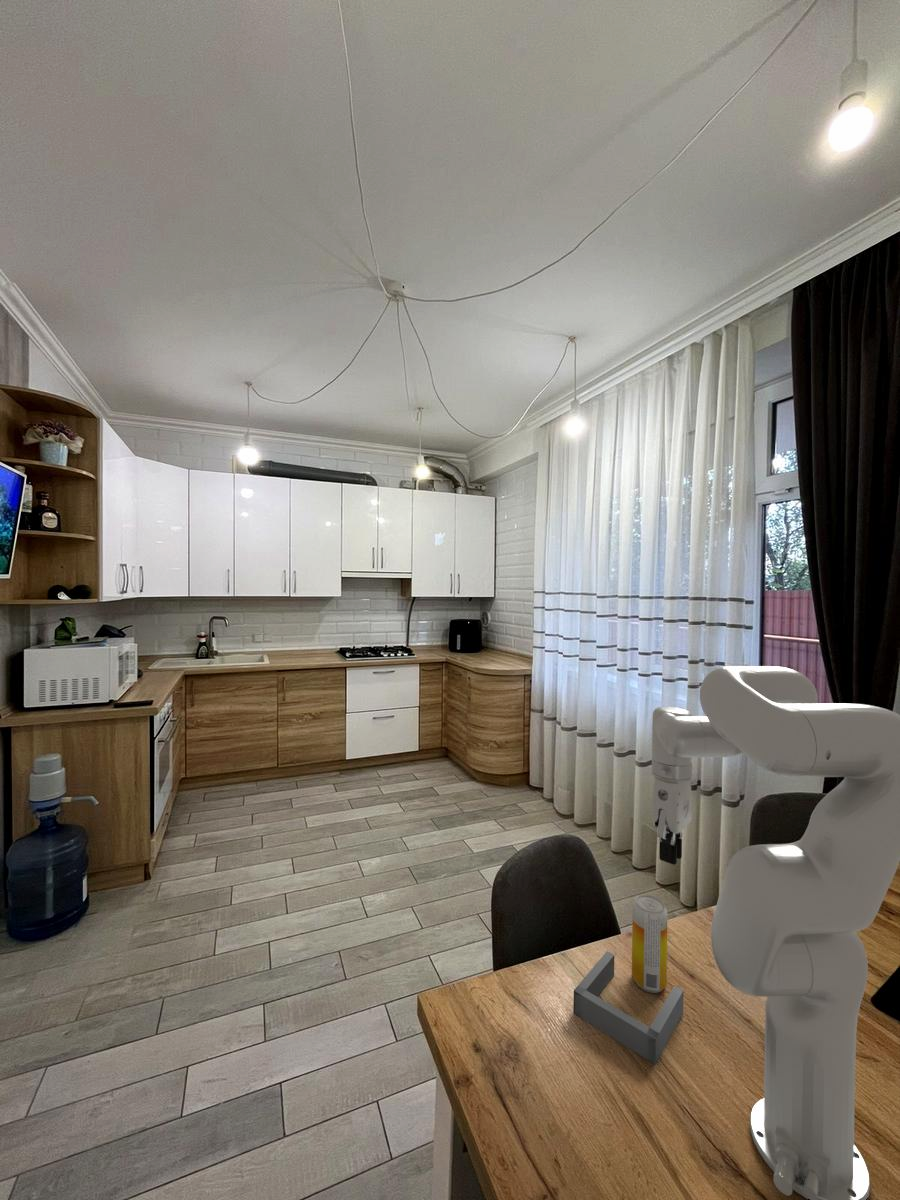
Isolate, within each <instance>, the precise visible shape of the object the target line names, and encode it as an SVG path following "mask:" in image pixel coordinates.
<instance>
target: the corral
mask: <svg viewBox="0 0 900 1200" xmlns="http://www.w3.org/2000/svg"><path fill="white" fill-rule="evenodd" d="M614 976H615V954H614V953H612V952H610V951H608V950H607V951H606V952H604V954H603V955H602V956H601V958H599V960H598V961H597V962H596V963H595V965H593V967H592V968H591V969H590V970H589V971H588V973H587V974H586V975H585V976H584V977H583V979H582V980H581V981H580V982H579V983H578V984H577V986H576V987H575V988H574V990H573V1010H572V1011H573V1014H574V1015H576V1016H577V1017H579V1018H581V1019H582V1020H583V1021H585V1022H587V1023H588V1024H590V1025H591V1026H593V1027H594V1028H596V1029H598V1030H599V1031H601V1032H602V1033H604V1034H605V1035H606V1036H608V1037H610V1038H611V1039H613V1040H615V1041H616V1042H618V1043H620V1044H621V1045H622V1046H625V1047H626V1048H628V1049H629V1050H631V1051H632V1052H634V1053H635V1054H637V1055H639V1056H640V1057H642V1058H643V1059H645V1060H646V1061H649V1062H650V1063H652V1064H653V1065H655V1066H656V1065H657V1063H658V1061H659V1060H660V1057H661V1056H662V1054H663V1051H664V1050H665V1049H666V1046H667V1045H668V1042H669V1041H670V1039H671V1037H672V1035H673V1033H674V1031H675V1029H676V1027H677V1026H678V1024H679V1022H680V1020H681V1018H682V1016H683V1014H684V989H683V988H680V987H677V986H676V985H674V986H673V988H672V989H671V991H670V992H669V994H668V996H667V997H666V999H665V1001H664V1003H663V1005H662V1006H661V1007H660V1009H659V1011H658V1013H657V1014H656V1016H655V1018H654V1020H653V1021H652V1023H651V1024H650V1026H648V1025H646V1024H644V1023H643V1022H641V1021H639V1020H638V1019H636V1018H634V1017H633V1016H631V1015H629V1014H628V1013H626V1012H624V1011H622V1010H620V1009H619V1008H617V1007H615V1006H614V1005H612V1004H611V1003H608V1002H607V1001H605V1000H604V999H601V998H600V997H599V996H600V995H601V993H602V992H603V990H605V988H606V987H607V986H608V984H609V983H610V981H612V979H613V978H614Z"/></svg>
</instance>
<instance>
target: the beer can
mask: <svg viewBox="0 0 900 1200" xmlns="http://www.w3.org/2000/svg"><path fill="white" fill-rule="evenodd" d="M668 915H669V913H668V910H667V908H666V905H665V903H664V901H663V900H661V899H660V898H658V897H656V896H654V895H651V894H640V895H637V896H636V897H635V898H634V901H633V902H632V919H631V920H632V921H631V923H632V925H631V926H632V927H631V928H632V930H631V935H632V938H631V977H632V979H633V980H634V982H635V983H636V985H637V986H638V988H640V989H641V990H643V991H645V992H648V993H652V994H657V993H660V992H662V991H663V990H664V989H665V988H666V986H667V983H668V982H667V980H668V976H667V975H668Z"/></svg>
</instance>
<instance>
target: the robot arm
mask: <svg viewBox="0 0 900 1200" xmlns="http://www.w3.org/2000/svg"><path fill="white" fill-rule="evenodd" d="M818 698H819V696H818V692H817V689H816V687H815V685H814V683H813V682H812V681H811V680H810V679H809V677H807V676H805V675H804V674H803V673H801V672H800V671H797V670H794V669H792V668H788V667H784V666H778V665H777V666H775V665H774V666H771V665H762V666H761V665H758V666H757V665H756V666H754V665H752V666H751V665H749V666H748V665H747V666H746V665H745V666H744V665H743V666H742V665H739V666H738V665H737V666H736V665H735V666H733V665H728V666H720V667H717V668H714V669H713V670H711V671H710V672H709V673H707V674H706V676H705V677H704V679H703V680H702V682H701V685H700V688H699V704H700V707H701V710H702V711H703V713H704V715H692V713H691V711H689V710H687V709H685V708H682V707H676V706H658V707H656V708H655V709H654V710H653V712H652V716H651V718H652V719H651V720H652V724H651V731H652V733H651V736H652V737H651V775H652V776H653V777H654V782H653V783H654V785H653V797H652V823H653V826H654V827H655V828H656V829H657V832H656V837H657V838H658V841H659V851H658V853H659V860H660V861H663V862H665V863H668V864H670V865H673V866H676V865H677V863H678V862H677V861H678V860H681V859H682V857H683V853H682V851H683V850H682V849H683V847H682V846H683V839H682V837H683V830H684V829H685V828H686V827H687V826H688V825H689V824H690V823H691V821H692V819H693V805H692V804H693V803H692V801H693V800H692V798H693V797H692V784H691V783H692V782H691V781H693V758H732V757H737V756H741V755H743V754H744V755H745V756H746V757H747V758H748V759H749V760H750V761H752V762H753V763H754V764H755V765H757V766H758V767H759V768H760V769H762V770H765V772H768V773H770V774H772V775H776V776H780V777H786V778H839V777H840V778H843V780H841V782H840V783H839V784H838V785H836V786H835V787H834V788H833V789H831V791H829V792H828V793H827V794H825V796H823V798H822V799H821V800H820V801H819V802H818V803H817V805H816V806H815V808H814V810H813V811H812V813H811V815H810V817H809V818H810V819H809V822H808V825H807V828H806V829H805V832H804V834H803V835H802V837H800V839H799V840H797V841H794V842H790V843H788V842H787V843H767V844H765V843H764V844H755V845H749V846H745V847H743V848H741V849H739V850H738V851H737V852H736V853H735V854H734V855H733V856H732V857H731V859H730V861H729V863H728V865H727V867H726V870H725V871H726V872H725V874H724V877H723V882H722V885H721V888H720V892H719V895H718V899H717V903H716V905H715V909H714V913H713V917H712V921H711V930H710V934H711V935H710V940H711V942H710V943H711V950H712V953H713V954H712V955H713V958H714V960H715V961H714V962H715V963H716V966H717V968H718V970H719V972H720V973H721V975H722V976H723V978H724V980H726V982H727V983H728V984H729V985H731V987H733V988H734V989H736V990H737V991H738V992H741V993H742V994H746V995H747V996H748V995H749V996H751V997H752V996H753V997H766V1000H765V1012H764V1013H765V1016H764V1017H765V1018H764V1066H763V1067H764V1069H763V1070H764V1071H763V1072H764V1073H763V1082H764V1083H763V1098H761V1099H759V1100H757V1101H756V1102H755V1104H754V1105H753V1107H752V1109H751V1111H750V1114H749V1115H750V1117H749V1122H750V1124H749V1125H750V1134H751V1138H752V1140H753V1143H754V1145H755V1147H756V1149H757V1151H758V1153H759V1154H760V1156H761V1158H762V1159H763V1160H764V1162H765V1163H766V1165H767V1166H768V1167H769V1168H770V1170H771V1171H772V1172H773V1178H772V1179H773V1180H772V1181H773V1183H774V1185H775V1187H776V1188H777V1190H778V1191H779V1192H780V1193H782V1194H783V1195H785V1196H788V1197H789V1196H792V1194H793V1191H795V1193H797V1194H799V1195H800V1196H802V1197H804V1198H805V1199H807V1200H808V1199H810V1200H866V1199H867V1198H868V1199H869V1197H870V1191H871V1190H870V1188H871V1183H870V1182H871V1181H870V1180H871V1179H870V1174H869V1170H868V1166H867V1163H866V1162H865V1160H864V1158H863V1156H862V1153H861V1152H860V1151H859V1149H858V1148H857V1147H856V1145H855V1106H856V1105H855V1104H856V1100H855V1098H856V1097H855V1095H856V1094H855V1093H856V1058H857V1057H856V1056H857V1028H858V1018H859V1017H858V1016H859V1013H860V1009H861V1008H860V1007H861V1004H862V1001H863V999H864V998H863V997H864V994H865V990H866V987H867V983H868V976H869V973H868V972H869V967H868V966H869V965H868V964H869V963H868V956H867V954H866V950H865V947H864V944H863V942H862V940H861V939H860V937H859V935H858V933H857V932H859V931H860V932H861V931H863V930H865V929H867V928H868V927H869V926H870V925H871V924H872V923H873V922H874V920H875V918H876V917H877V915H878V913H879V910H880V908H881V905H882V903H883V901H884V899H885V897H886V896H887V892H888V890H889V888H890V885H891V884H892V881H893V879H894V877H895V874H896V873H897V870H898V867H899V865H900V714H899V713H897V712H895V711H893V710H890V709H887V708H884V707H880V706H875V705H871V704H865V703H845V702H843V703H842V702H841V703H840V702H839V703H836V702H835V703H834V702H829V703H827V702H826V703H825V702H824V703H823V702H822V703H818V702H819V699H818ZM677 859H678V860H677ZM868 1199H867V1200H868Z"/></svg>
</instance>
